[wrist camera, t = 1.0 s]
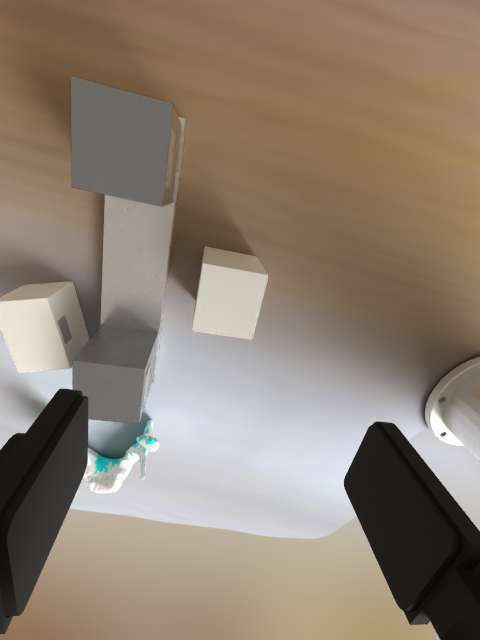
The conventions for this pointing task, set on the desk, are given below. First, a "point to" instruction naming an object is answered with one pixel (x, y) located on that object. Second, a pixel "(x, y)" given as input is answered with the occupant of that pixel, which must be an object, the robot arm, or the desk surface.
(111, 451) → the desk surface
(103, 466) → the jawbone
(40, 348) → the block
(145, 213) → the rail
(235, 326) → the block
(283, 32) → the desk surface
